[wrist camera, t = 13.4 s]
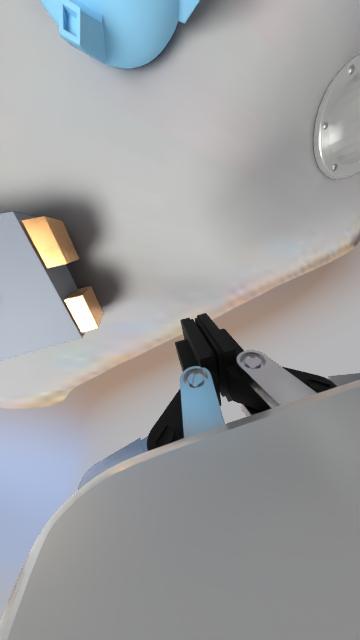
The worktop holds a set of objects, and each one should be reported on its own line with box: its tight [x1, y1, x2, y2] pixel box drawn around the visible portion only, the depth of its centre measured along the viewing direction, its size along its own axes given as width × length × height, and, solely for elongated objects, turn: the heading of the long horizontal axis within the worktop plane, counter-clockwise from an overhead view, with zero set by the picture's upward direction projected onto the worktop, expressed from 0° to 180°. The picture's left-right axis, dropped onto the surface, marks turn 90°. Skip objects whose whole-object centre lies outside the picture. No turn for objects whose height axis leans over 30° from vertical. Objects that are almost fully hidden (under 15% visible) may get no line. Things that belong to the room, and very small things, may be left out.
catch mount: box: [0, 211, 85, 361], centre depth 20 cm, size 10×14×8 cm
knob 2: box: [65, 286, 104, 332], centre depth 22 cm, size 12×4×5 cm, turn 101°
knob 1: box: [22, 216, 79, 268], centre depth 19 cm, size 12×4×5 cm, turn 101°
